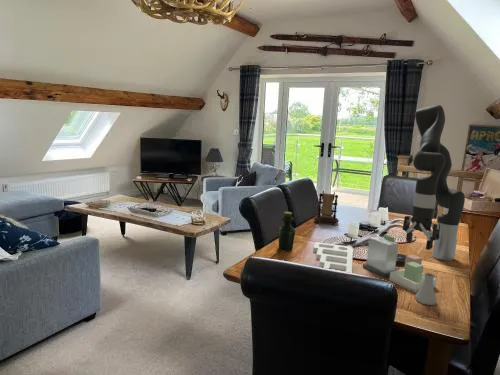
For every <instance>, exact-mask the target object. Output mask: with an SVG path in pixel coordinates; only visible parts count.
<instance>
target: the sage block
mask: <svg viewBox="0 0 500 375" xmlns="http://www.w3.org/2000/svg"><path fill="white" fill-rule="evenodd" d="M423 270H424V265H422V264H421V265H420V264H418V263H416V262H409V263H406V266H405V273H404V278H407V279H409V280H411V281H413V282H415V283H417V282H421V279H422V273H424V272H423Z"/></svg>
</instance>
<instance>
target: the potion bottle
mask: <svg viewBox="0 0 500 375" xmlns="http://www.w3.org/2000/svg"><path fill="white" fill-rule="evenodd" d="M283 214H284V215H283V216H282V217H281V220H282V221H283V225H281V226H279V227H278V249H279V250H280V251H283V252H291V251H292V250H293V246H294V241H295V235H296V229H295V227H293V226H292V225H291V224H292V222H294V217H293V216H292V214H293V212H291V211H284V212H283Z"/></svg>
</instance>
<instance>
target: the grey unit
mask: <svg viewBox="0 0 500 375" xmlns="http://www.w3.org/2000/svg"><path fill="white" fill-rule="evenodd" d="M383 235H384V236H383V237H382V236H372V237H369V240H368V245H367V247H368V249H367V254H366V255H367V256H366V262H365V263H363V264H362V268H364V269H366V270H368V271H369V272H372V273H373V274H376V275H378V276H380V277H382V278H383V279H384V278H390V272H393V271H397V270H400V269H399V268H396V266H397V265H396V258H397V254H398V247H399V242H396V241H395V240H396V238H395V237H393V236H391V235H388V234H383Z"/></svg>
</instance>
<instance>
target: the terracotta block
mask: <svg viewBox="0 0 500 375" xmlns="http://www.w3.org/2000/svg"><path fill="white" fill-rule="evenodd" d="M407 255H408V256H406V259H405V266H406V263H409V262H416V263H418V264H420V265H422V261H423V257H421V256H418V255H415V254H407ZM405 266H403V267H404V268H403V269H405Z"/></svg>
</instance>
